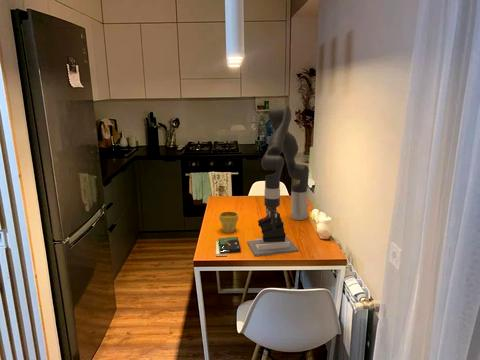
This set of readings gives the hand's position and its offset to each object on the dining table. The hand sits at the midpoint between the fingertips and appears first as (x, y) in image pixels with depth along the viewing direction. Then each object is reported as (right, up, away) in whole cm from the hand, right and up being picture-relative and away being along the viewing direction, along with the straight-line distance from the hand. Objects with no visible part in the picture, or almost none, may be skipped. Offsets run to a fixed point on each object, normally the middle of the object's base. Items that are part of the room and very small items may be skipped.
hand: (271, 229), depth 184 cm
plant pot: (-22, -4, +25) cm, 33 cm away
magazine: (0, -6, +2) cm, 7 cm away
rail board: (0, -9, +2) cm, 10 cm away
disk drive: (-21, -10, +4) cm, 24 cm away
